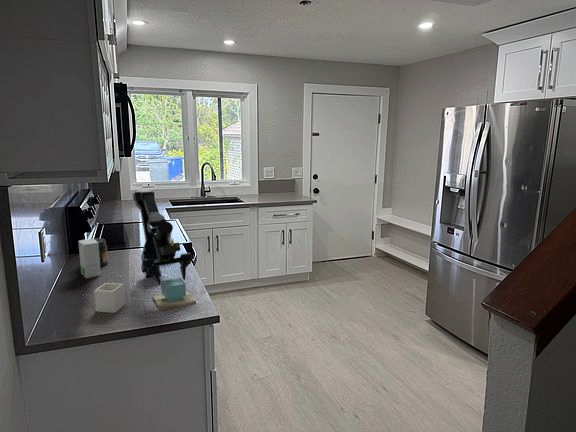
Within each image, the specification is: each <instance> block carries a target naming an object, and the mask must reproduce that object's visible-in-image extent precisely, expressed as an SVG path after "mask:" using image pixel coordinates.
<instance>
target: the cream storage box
mask: <svg viewBox="0 0 576 432" xmlns="http://www.w3.org/2000/svg"><path fill="white" fill-rule="evenodd" d="M125 291H126V290H125V283H117V282H104V283H103V284H102V285H100V286H98V287H97V288H96V289H94V290H93V292H94V303H95V310H96V311H95V312H98V313H99V312H100V313H101V312H102V313H117V312H118V311H119V310H120V309H121V308H123V307H124V306H125V305H127V304H126V293H125Z"/></svg>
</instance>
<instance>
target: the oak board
mask: <svg viewBox="0 0 576 432" xmlns="http://www.w3.org/2000/svg"><path fill="white" fill-rule="evenodd" d="M152 300H153V302H155V304H156V306H157V307H158V309H159V310H160V312H163V311H168V310H173V309H177V308H181V307H185V306H190V305H196V304H197V300H196V298H194V297H193V295H192V294H191V293H190V292H189V291H188V290H187V289H186V296H183V299H182V300H177V301H173V302H168V300H166V298H165V297H164V296H163V294H162V293H159V294H155V295H152Z"/></svg>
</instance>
